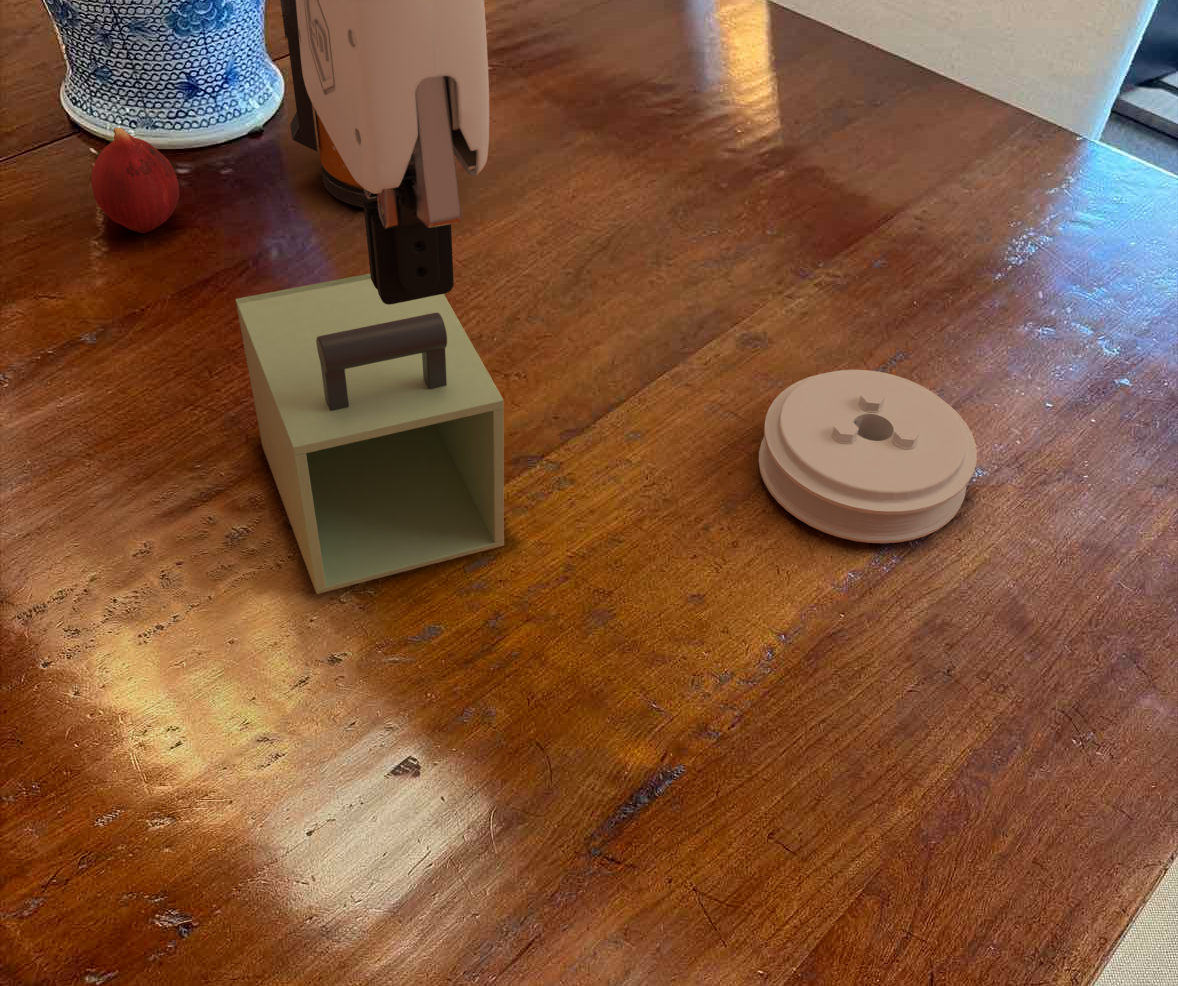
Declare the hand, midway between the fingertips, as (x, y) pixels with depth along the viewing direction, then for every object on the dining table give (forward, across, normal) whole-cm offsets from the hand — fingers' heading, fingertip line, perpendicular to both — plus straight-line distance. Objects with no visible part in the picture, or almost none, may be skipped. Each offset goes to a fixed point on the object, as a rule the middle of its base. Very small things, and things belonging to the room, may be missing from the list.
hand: (412, 287), depth 56 cm
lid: (+22, -1, +28) cm, 35 cm away
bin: (+21, -10, 0) cm, 23 cm away
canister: (+21, -43, +9) cm, 49 cm away
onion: (+21, -42, -8) cm, 48 cm away
